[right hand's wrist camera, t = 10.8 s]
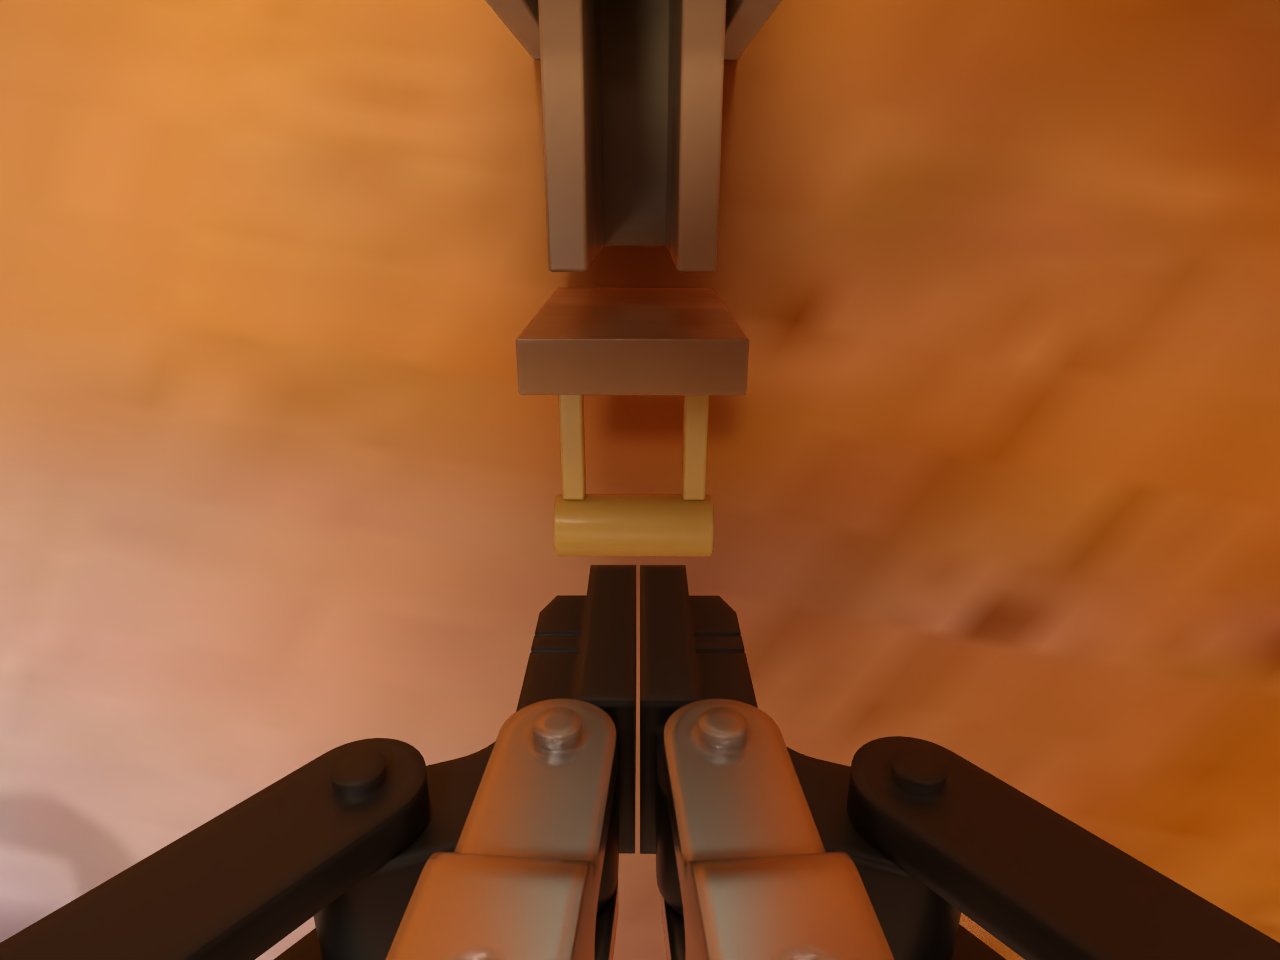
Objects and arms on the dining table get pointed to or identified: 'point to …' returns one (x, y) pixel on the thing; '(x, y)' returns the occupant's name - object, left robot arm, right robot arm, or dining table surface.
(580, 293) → the drawer
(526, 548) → the dining table surface
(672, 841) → the right robot arm
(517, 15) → the grey rectangular box
